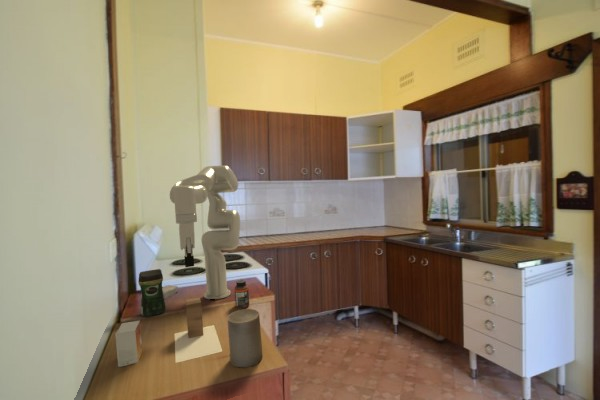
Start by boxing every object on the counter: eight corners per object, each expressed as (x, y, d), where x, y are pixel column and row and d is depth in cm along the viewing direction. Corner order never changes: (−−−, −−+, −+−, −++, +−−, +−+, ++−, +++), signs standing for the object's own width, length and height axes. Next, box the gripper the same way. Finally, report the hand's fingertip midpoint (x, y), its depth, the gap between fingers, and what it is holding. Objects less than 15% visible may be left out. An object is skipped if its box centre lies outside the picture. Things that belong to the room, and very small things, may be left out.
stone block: (148, 303, 153) (166, 299, 151) (146, 293, 153) (164, 289, 151) (163, 295, 165) (180, 291, 163) (161, 286, 165) (178, 282, 163)
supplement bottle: (238, 303, 142) (237, 278, 141) (251, 303, 141) (249, 278, 140) (233, 308, 136) (231, 282, 135) (246, 309, 135) (244, 283, 134)
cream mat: (174, 334, 115) (174, 333, 115) (214, 326, 120) (214, 325, 120) (175, 364, 95) (175, 362, 95) (222, 352, 101) (222, 351, 101)
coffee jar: (165, 307, 141) (162, 266, 140) (166, 313, 134) (163, 270, 133) (141, 312, 137) (138, 270, 136) (140, 318, 130) (137, 274, 129)
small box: (138, 363, 97) (135, 330, 96) (117, 367, 95) (114, 333, 94) (143, 350, 104) (140, 319, 104) (124, 354, 103) (121, 322, 102)
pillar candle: (256, 347, 103) (252, 302, 102) (267, 361, 95) (263, 312, 94) (226, 356, 99) (222, 309, 98) (235, 372, 90) (231, 321, 89)
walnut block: (187, 332, 115) (185, 300, 114) (202, 329, 117) (199, 297, 116) (188, 338, 110) (186, 304, 110) (203, 335, 112) (201, 302, 112)
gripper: (175, 217, 125) (178, 263, 126) (176, 221, 111) (179, 272, 112) (195, 216, 128) (198, 260, 129) (198, 219, 114) (201, 269, 115)
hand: (189, 266), depth 121 cm, fingers closed
